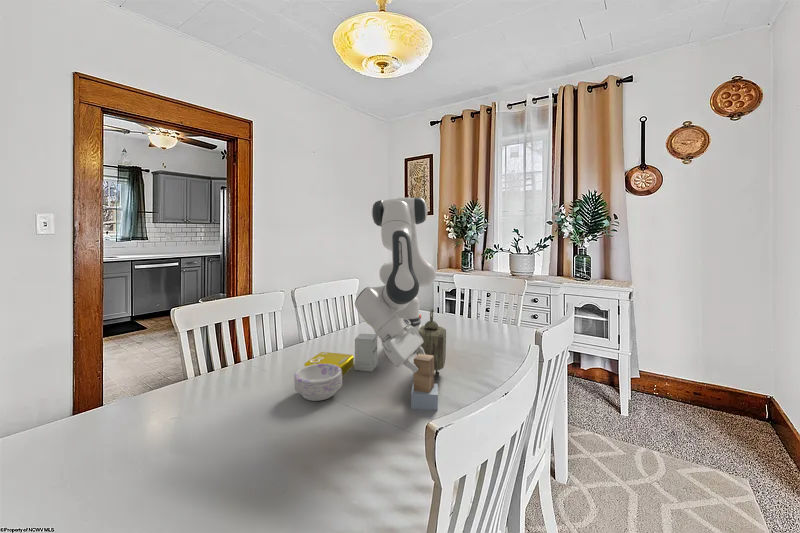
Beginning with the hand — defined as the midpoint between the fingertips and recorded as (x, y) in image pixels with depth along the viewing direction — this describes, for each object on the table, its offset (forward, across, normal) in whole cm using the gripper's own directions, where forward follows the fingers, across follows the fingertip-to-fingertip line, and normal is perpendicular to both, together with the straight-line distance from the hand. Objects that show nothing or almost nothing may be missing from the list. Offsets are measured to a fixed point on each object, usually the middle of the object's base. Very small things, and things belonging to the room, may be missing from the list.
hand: (421, 365), depth 115 cm
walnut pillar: (+6, 0, +4) cm, 7 cm away
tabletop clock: (+7, +22, +11) cm, 25 cm away
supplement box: (-12, +20, +29) cm, 37 cm away
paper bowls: (-15, -7, +32) cm, 36 cm away
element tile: (-20, +14, +38) cm, 45 cm away
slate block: (+9, 0, +8) cm, 12 cm away
